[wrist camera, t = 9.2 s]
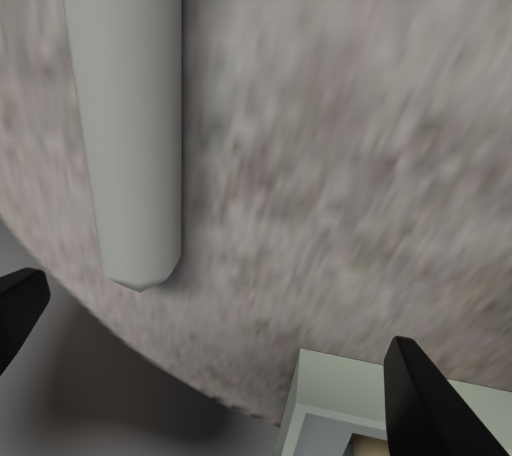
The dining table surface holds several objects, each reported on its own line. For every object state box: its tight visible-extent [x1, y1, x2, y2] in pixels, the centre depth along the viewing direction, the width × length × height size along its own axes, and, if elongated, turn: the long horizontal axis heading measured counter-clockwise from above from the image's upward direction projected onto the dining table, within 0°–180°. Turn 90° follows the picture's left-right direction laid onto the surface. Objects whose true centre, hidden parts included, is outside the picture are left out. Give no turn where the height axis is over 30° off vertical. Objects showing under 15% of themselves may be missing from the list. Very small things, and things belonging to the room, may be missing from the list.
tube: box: [62, 0, 181, 292], centre depth 17 cm, size 5×5×25 cm
